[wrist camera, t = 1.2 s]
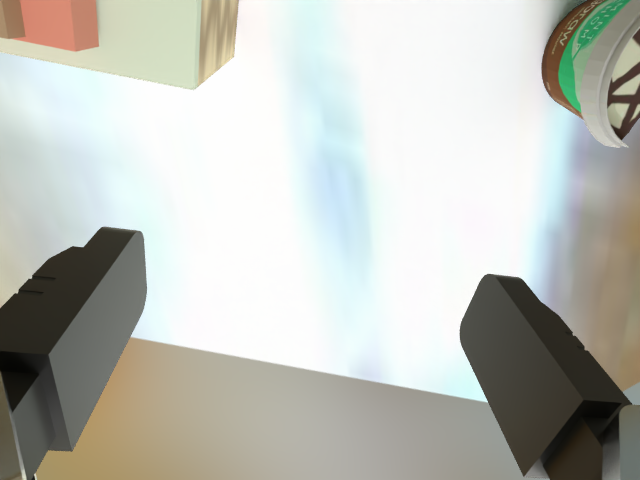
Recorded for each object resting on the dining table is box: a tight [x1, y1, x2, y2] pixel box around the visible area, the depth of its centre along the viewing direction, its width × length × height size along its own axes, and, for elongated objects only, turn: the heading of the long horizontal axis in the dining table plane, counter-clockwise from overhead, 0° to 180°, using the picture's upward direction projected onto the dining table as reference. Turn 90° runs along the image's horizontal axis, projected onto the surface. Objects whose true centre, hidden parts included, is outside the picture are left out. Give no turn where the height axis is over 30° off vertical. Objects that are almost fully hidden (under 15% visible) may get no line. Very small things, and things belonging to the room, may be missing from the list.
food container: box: [542, 0, 640, 148], centre depth 30 cm, size 12×6×10 cm, turn 156°
